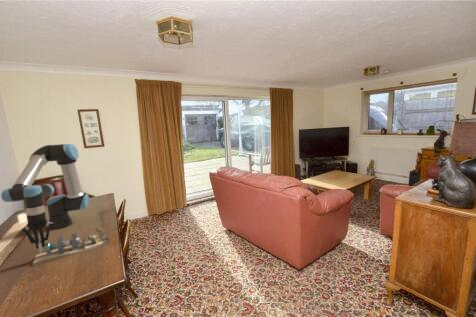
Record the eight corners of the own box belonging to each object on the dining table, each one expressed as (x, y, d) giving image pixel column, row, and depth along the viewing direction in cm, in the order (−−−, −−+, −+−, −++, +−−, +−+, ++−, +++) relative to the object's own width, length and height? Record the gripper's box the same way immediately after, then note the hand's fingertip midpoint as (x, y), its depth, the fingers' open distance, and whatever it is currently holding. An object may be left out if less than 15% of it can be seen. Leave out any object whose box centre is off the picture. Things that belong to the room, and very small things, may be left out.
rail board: (36, 257, 128) (36, 254, 128) (108, 238, 148) (108, 236, 148) (33, 265, 120) (32, 263, 120) (109, 244, 140) (109, 242, 140)
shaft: (46, 255, 124) (45, 245, 123) (48, 250, 130) (47, 240, 129) (80, 246, 133) (79, 236, 132) (80, 242, 138) (79, 232, 137)
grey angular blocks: (60, 250, 134) (58, 236, 133) (108, 238, 148) (106, 225, 147) (58, 258, 126) (56, 243, 125) (109, 244, 140) (107, 230, 139)
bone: (86, 244, 134) (87, 228, 138) (88, 245, 139) (88, 229, 143) (102, 242, 138) (103, 225, 142) (103, 243, 143) (104, 227, 147)
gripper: (18, 218, 116) (24, 259, 119) (49, 212, 123) (55, 252, 126) (22, 213, 122) (28, 253, 125) (51, 209, 129) (56, 246, 132)
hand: (41, 252), depth 125 cm, fingers closed
